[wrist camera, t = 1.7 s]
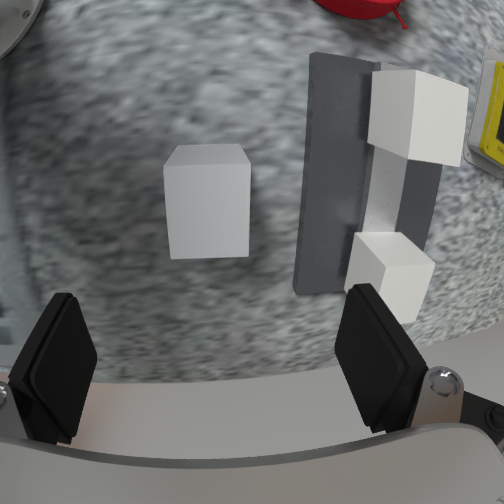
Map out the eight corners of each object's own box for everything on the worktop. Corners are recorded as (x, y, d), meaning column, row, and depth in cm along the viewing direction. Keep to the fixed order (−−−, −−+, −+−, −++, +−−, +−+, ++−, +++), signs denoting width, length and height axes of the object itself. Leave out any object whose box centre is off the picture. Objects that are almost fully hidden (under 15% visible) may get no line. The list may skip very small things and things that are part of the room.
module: (177, 145, 24) (163, 166, 17) (241, 143, 24) (253, 163, 17) (181, 213, 27) (170, 259, 20) (240, 212, 27) (250, 256, 20)
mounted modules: (372, 71, 20) (415, 69, 15) (421, 83, 21) (468, 88, 15) (343, 288, 29) (367, 329, 24) (386, 285, 30) (414, 321, 25)
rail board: (309, 54, 21) (319, 50, 19) (441, 83, 23) (457, 85, 21) (292, 285, 32) (298, 300, 29) (406, 277, 33) (417, 289, 31)
